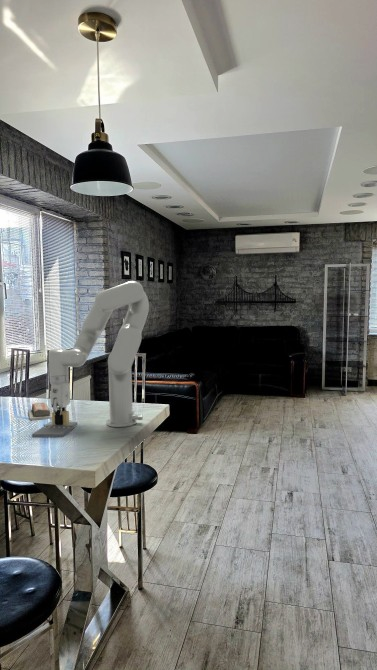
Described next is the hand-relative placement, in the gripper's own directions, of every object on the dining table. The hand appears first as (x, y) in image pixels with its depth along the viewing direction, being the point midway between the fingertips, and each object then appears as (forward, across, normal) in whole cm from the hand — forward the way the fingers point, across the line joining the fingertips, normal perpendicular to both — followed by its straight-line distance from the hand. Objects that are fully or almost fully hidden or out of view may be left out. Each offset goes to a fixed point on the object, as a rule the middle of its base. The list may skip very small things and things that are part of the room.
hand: (60, 422), depth 182 cm
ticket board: (+2, -9, 0) cm, 9 cm away
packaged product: (+3, +20, +17) cm, 27 cm away
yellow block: (+2, 0, 0) cm, 2 cm away
